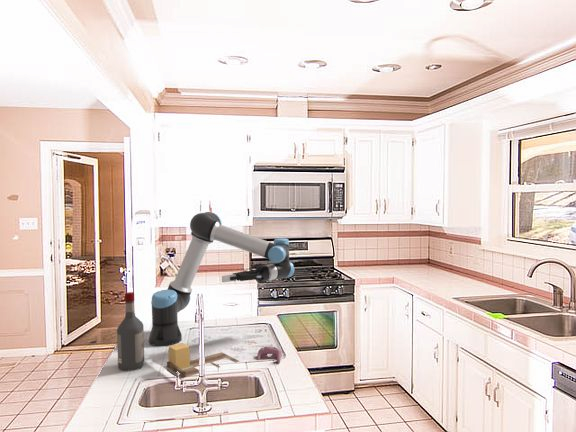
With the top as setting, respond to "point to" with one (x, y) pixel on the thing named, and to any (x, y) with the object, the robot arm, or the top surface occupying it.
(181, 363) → the ochre block
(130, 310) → the liquor
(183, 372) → the trap box
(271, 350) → the pink arch block
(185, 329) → the top surface
